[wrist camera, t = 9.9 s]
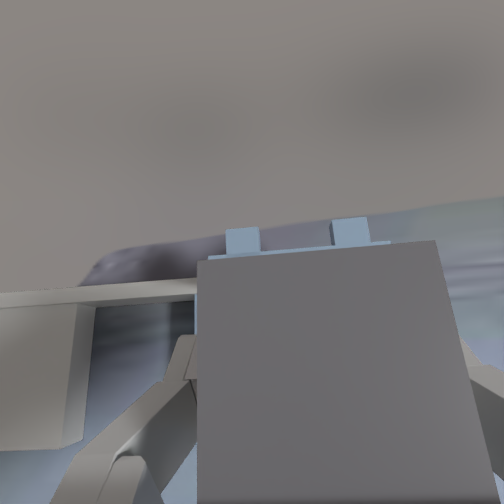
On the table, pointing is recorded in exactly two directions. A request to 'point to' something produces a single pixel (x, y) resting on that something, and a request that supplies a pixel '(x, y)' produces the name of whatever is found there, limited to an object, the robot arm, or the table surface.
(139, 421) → the robot arm
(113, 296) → the off-white flat angled piece
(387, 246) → the upright grey square pillar
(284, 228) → the table surface
